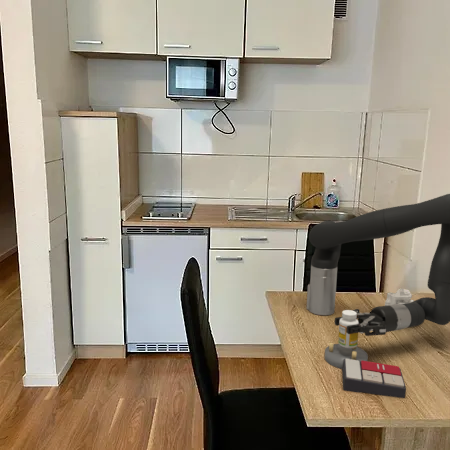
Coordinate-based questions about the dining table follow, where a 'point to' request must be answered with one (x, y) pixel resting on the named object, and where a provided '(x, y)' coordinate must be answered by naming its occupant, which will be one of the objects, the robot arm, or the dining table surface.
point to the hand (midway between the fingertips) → (341, 325)
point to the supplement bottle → (345, 338)
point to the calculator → (373, 378)
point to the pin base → (343, 354)
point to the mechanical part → (399, 297)
